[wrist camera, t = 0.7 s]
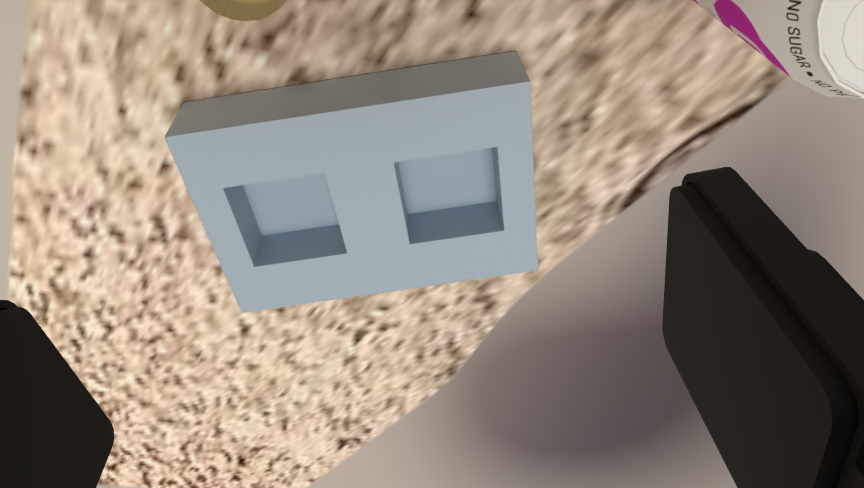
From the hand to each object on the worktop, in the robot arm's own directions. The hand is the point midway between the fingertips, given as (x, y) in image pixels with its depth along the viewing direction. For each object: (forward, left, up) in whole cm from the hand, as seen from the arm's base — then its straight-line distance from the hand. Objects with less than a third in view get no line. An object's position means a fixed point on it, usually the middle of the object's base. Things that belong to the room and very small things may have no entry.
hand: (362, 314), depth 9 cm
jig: (+13, -3, -26) cm, 29 cm away
